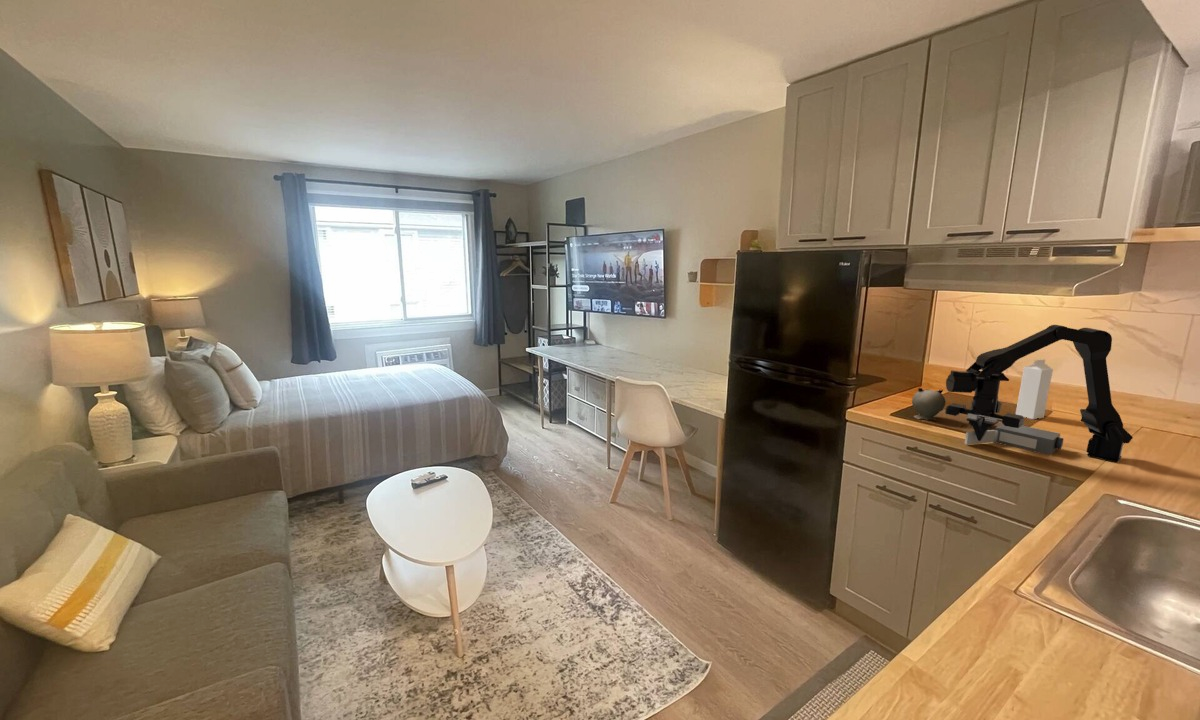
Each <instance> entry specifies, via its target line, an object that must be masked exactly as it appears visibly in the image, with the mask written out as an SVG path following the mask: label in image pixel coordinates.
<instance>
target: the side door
mask: <svg viewBox="0 0 1200 720" xmlns="http://www.w3.org/2000/svg"><path fill="white" fill-rule="evenodd" d="M995 433H996V431H995V429H988V430H987V432H986V433H985V435H984V436H983V438H982V440H981V441H978V439H977V436H976V434H975V431H974V430H973V431H966V432H965V438H964V445H975V444H977V445H978V444H979V445H980V444H987V443H992V444H993V442H994V438H995Z"/></svg>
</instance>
